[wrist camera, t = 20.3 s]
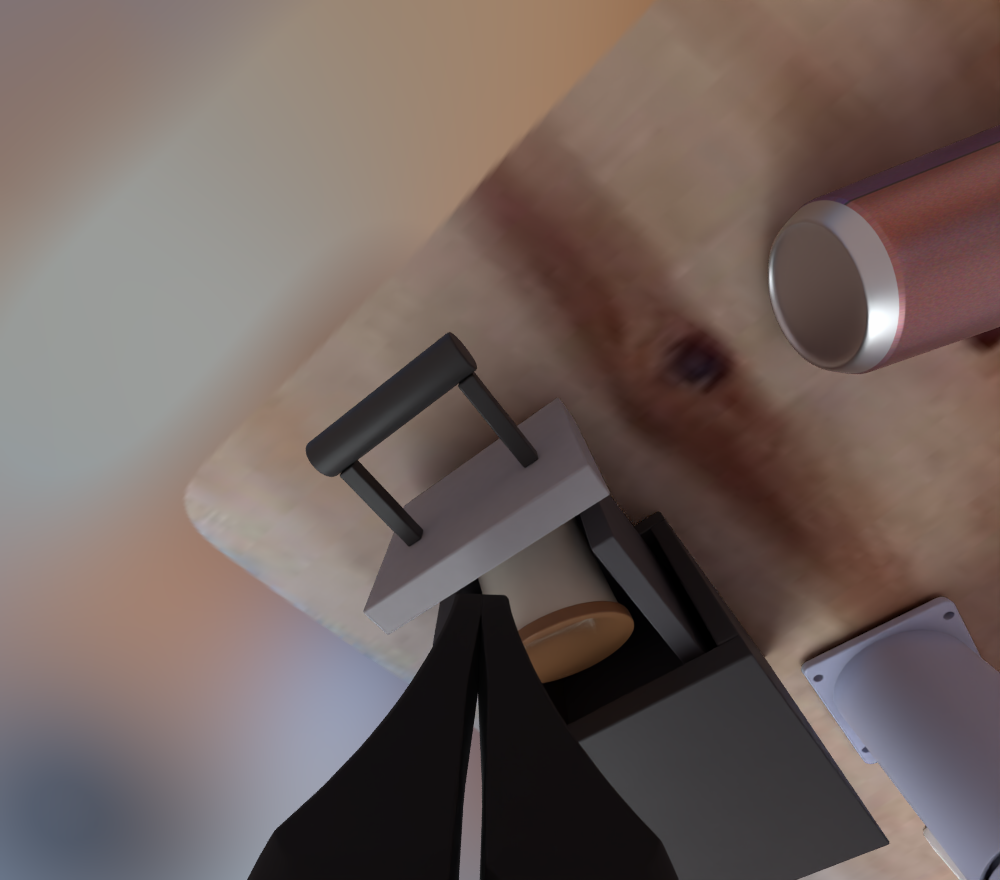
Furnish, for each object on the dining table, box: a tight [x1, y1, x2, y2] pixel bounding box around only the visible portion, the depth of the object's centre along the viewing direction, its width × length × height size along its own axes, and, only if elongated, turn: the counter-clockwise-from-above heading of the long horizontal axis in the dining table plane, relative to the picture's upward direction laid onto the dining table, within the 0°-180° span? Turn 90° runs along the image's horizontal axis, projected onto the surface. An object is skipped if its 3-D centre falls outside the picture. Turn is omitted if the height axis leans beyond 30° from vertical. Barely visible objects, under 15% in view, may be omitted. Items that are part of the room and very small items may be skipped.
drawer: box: [306, 332, 712, 725], centre depth 17 cm, size 15×8×7 cm, turn 37°
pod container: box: [478, 517, 634, 683], centre depth 17 cm, size 5×5×5 cm
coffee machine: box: [567, 512, 889, 880], centre depth 20 cm, size 12×10×9 cm
